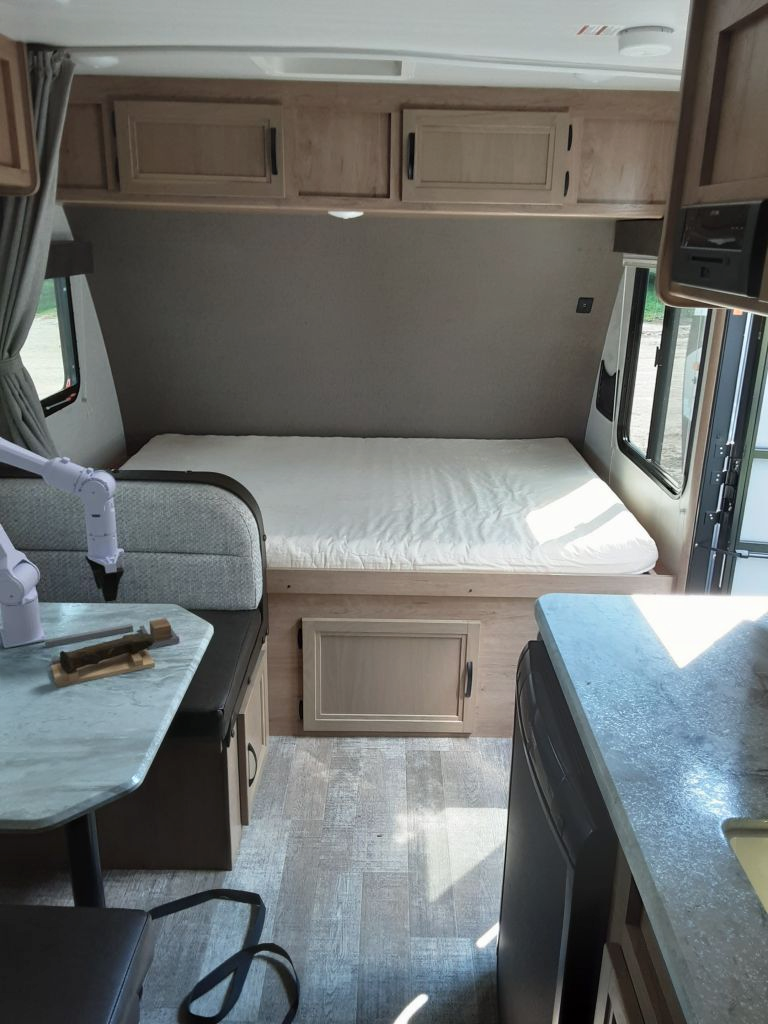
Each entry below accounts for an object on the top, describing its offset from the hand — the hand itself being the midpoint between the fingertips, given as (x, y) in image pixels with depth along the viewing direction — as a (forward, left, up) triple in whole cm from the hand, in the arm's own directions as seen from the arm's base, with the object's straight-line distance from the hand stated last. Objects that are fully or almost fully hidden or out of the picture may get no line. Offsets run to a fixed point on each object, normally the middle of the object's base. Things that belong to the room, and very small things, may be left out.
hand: (106, 594), depth 166 cm
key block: (+5, +9, -10) cm, 15 cm away
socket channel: (+3, -4, -10) cm, 11 cm away
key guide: (+4, +9, -10) cm, 14 cm away
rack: (+13, -4, -10) cm, 17 cm away
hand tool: (+11, -3, -6) cm, 13 cm away
